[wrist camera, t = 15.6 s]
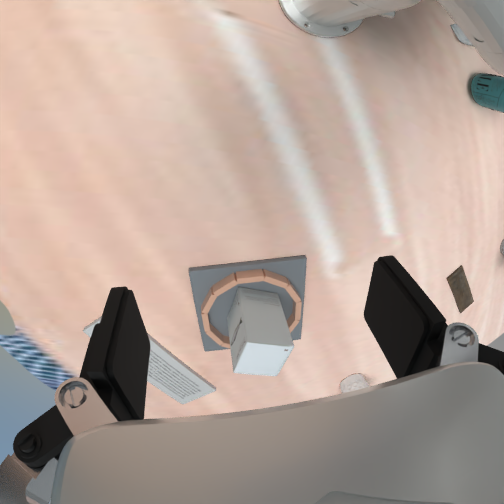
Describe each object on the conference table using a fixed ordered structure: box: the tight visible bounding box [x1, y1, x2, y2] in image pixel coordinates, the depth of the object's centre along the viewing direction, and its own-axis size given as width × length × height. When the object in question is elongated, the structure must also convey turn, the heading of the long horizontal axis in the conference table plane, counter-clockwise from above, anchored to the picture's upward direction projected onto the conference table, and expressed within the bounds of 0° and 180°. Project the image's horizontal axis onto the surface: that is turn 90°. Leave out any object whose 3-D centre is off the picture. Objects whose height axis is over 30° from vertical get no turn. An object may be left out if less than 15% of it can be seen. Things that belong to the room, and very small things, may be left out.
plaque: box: [83, 316, 216, 404], centre depth 61 cm, size 30×2×10 cm
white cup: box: [340, 374, 370, 393], centre depth 71 cm, size 8×8×10 cm
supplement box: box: [227, 287, 294, 376], centre depth 50 cm, size 7×7×13 cm
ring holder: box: [189, 255, 307, 351], centre depth 55 cm, size 19×19×3 cm
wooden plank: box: [447, 265, 474, 313], centre depth 65 cm, size 17×1×5 cm
